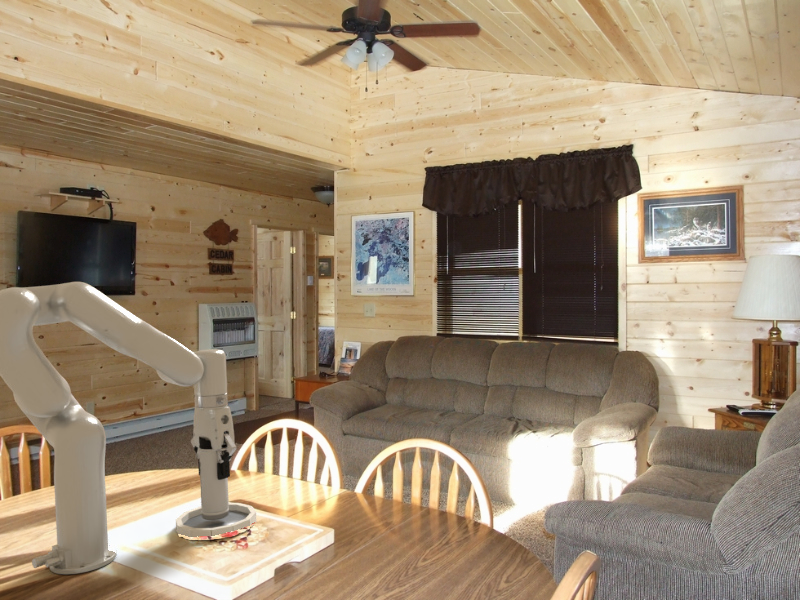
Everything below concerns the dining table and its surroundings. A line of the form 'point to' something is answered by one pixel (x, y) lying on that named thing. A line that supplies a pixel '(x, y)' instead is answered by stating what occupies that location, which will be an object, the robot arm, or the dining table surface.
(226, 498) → the travel mug
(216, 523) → the round tray
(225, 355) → the robot arm
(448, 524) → the dining table surface
